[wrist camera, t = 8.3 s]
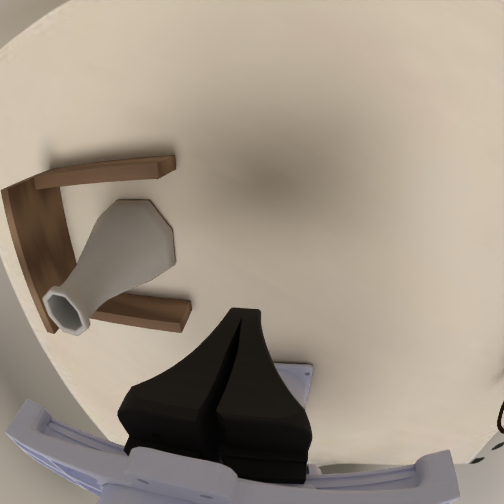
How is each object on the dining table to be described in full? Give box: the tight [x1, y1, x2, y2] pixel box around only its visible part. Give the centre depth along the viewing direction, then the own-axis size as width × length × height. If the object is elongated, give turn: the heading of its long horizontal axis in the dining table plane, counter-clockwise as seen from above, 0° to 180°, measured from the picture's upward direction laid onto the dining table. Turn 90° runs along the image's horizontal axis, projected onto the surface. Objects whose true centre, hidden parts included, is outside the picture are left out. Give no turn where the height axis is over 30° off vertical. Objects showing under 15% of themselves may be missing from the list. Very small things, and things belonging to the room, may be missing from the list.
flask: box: [42, 200, 175, 336], centre depth 18 cm, size 7×7×10 cm
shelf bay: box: [1, 155, 192, 334], centre depth 20 cm, size 13×12×6 cm
